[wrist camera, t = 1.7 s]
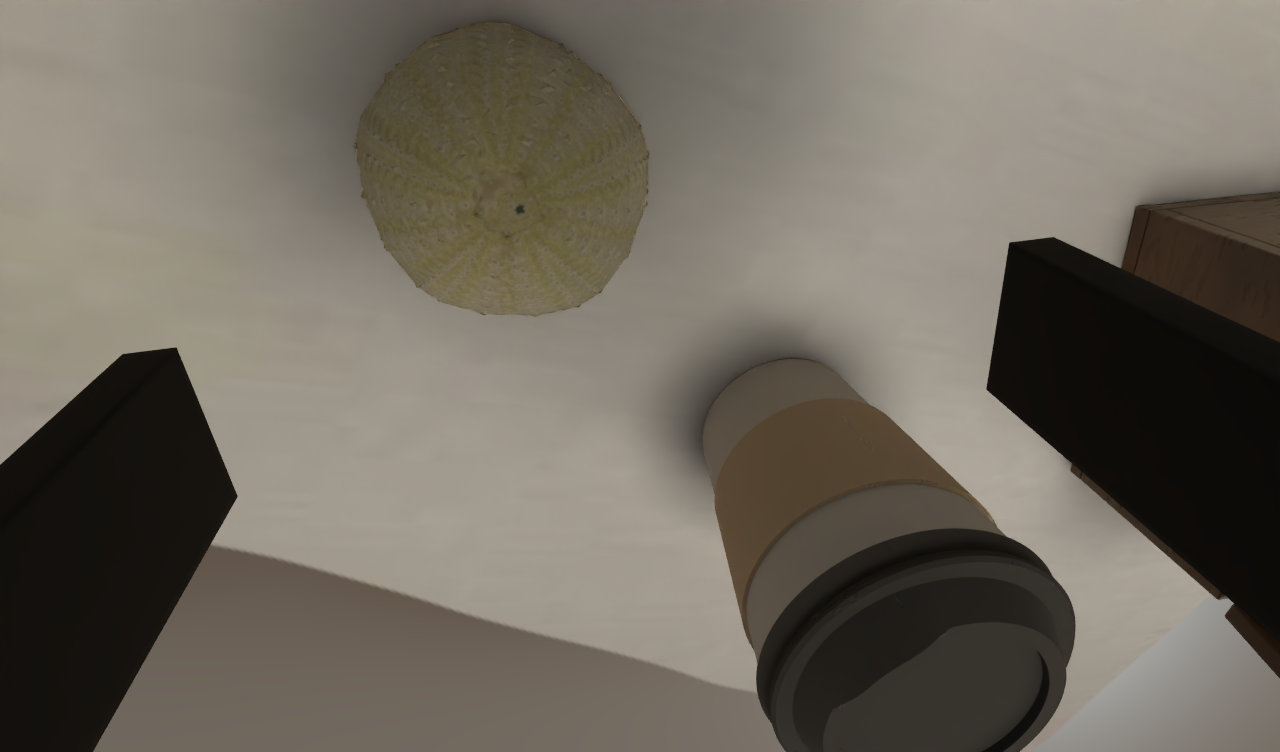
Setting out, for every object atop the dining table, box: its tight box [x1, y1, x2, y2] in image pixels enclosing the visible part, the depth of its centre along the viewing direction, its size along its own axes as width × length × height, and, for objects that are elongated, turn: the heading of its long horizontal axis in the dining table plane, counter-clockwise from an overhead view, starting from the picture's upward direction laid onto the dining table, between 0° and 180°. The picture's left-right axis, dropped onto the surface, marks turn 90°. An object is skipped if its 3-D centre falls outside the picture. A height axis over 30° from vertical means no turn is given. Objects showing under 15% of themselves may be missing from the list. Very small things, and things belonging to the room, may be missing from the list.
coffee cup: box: [702, 359, 1075, 752], centre depth 26 cm, size 9×9×15 cm
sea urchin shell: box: [354, 22, 649, 317], centre depth 24 cm, size 9×8×8 cm
